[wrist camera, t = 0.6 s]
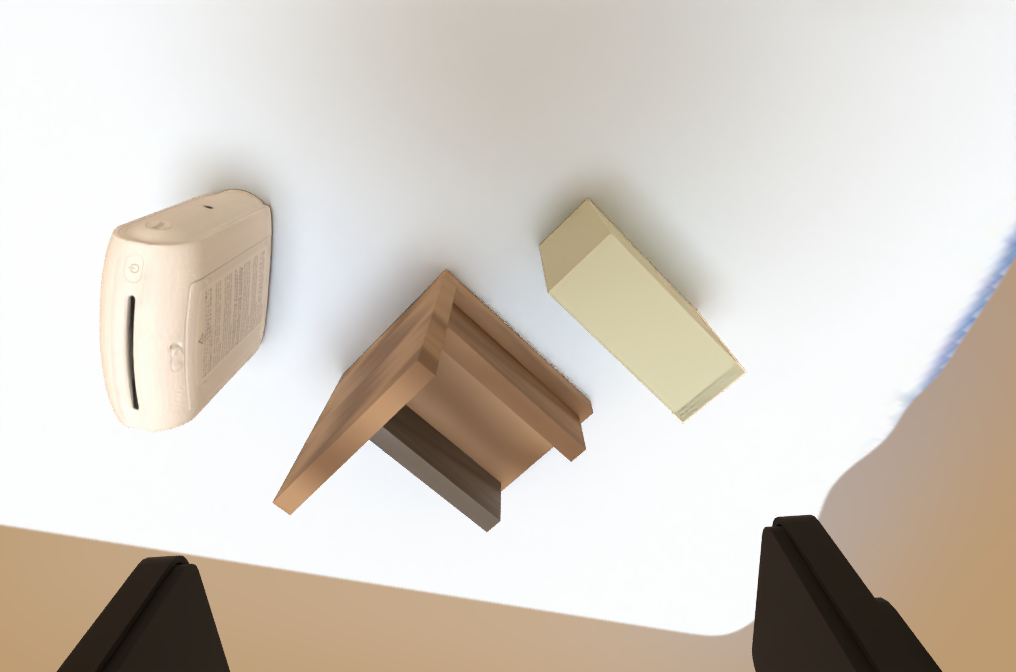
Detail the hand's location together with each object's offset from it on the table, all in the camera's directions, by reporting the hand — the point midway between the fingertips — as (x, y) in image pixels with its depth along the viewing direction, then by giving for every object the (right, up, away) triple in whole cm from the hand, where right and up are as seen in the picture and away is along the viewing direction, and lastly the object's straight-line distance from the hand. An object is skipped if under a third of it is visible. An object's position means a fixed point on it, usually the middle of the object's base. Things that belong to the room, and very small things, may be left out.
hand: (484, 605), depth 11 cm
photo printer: (-16, +8, +29) cm, 34 cm away
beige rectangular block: (+7, +8, +29) cm, 31 cm away
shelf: (-2, +1, +32) cm, 32 cm away
